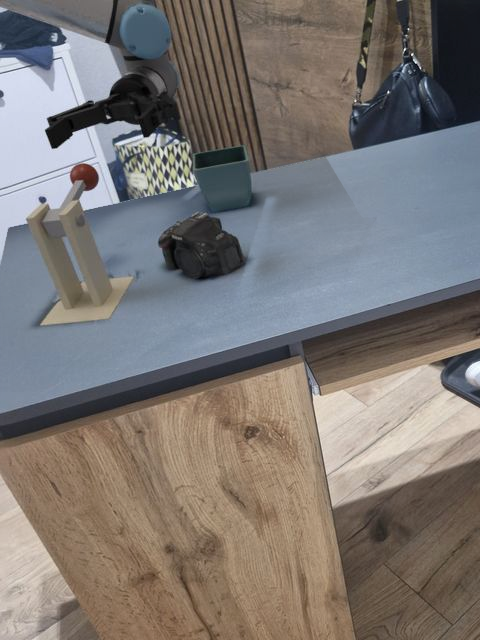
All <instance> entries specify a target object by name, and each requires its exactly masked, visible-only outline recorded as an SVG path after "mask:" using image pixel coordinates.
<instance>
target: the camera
mask: <svg viewBox="0 0 480 640" xmlns="http://www.w3.org/2000/svg"><path fill="white" fill-rule="evenodd" d="M157 245H158V248H160V249H161V251H162V257H163V259H164V262H165V265H166V267H167V269H168V270H171V271H174V270H177V269H180V270H181V271H182V273H183V274H184V275H186V276H187V277H189V278H190V279H191V278H192V279H195V280H199V279H201V278H210V277H213V276H224V275H229V274H231V273H233V272H234V271H236V270H238V269H239V268H241V267H243V266H244V265H245V264H246V263H245V257H244V254H243V251H242V248H241V244H240V241H239V238H238V237H237V236H235V235H233V234H232V233H229V232H228V231H226V230H224V229H223V224H222V222H221V218H219V217H215V216H211V215H209V214H208V213H207V212H205V213H201V211H197V212H195V213H193V214H192V215H191V216H189V217H188V218H186V219H183V220H178V221H176V223H175V224H173V225H171V226H169V227H168V228H167V229H165V230H163V233H161V235H160V236H159V238H158V241H157Z"/></svg>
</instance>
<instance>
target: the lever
mask: <svg viewBox="0 0 480 640" xmlns="http://www.w3.org/2000/svg"><path fill="white" fill-rule="evenodd" d="M69 179H70V182H71V184H72V186H71V188H70V189H69V191H68V192H67V195H66V196H65V198H64V200H63V202H62V203H61V205H60V206H59V208H50V210H49V211H48V213H47V215H46V216H45V218H44V220H43V221H42V223H43V225H44V227H45V228H46V230H47V232H48V234H49V236H50V238H58V237H62V238H67V236H66V233H65V231H64V228H63V226H62V223H61V221H60V218H59V216H58V215H59V214H60V213H61V212H62V211H63V210H64V209H65V208H66V207H67V205H68V204H69V203H70V202H71V201H75V200H80V199H81V197H82V195H83V193H84V192H89V191H90V192H91V191H93V190H94V189H95V188H96V187H97V186H98V184H99V181H100V176H99V173H98V170H97V169H96V168H95V167H94V166H92V165H91V164H89V163H86V162H85V163H84V162H82V163H81V162H80V163H77V164H75V165H74V166H73V167H72V168H71V170H70V172H69Z"/></svg>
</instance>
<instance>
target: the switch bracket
mask: <svg viewBox="0 0 480 640" xmlns="http://www.w3.org/2000/svg"><path fill="white" fill-rule="evenodd" d="M50 209H51V206H50V204H49V203H41V204H39V205H38V206H37V207H36V208H35V209H34V210H33V211H32V212H31V213H30V214H29V215H28V216H26V218H25V221H26V223H27V225H28V227H29V230H30V232H31V234H32V237H33V239H34V241H35V244H36V246H37V249H38V250H39V253H40V255H41V258H42V259H43V262H44V264H45V267H46V269H47V271H48V274H49V276H50V278H51V281H52V283H53V285H54V288H55V290H56V292H57V294H58V297H59V299H58V300H57V302H56V303H55V304H54V305H53V307H52V308H51V310H50V311H49V312H48V313H47V315H46V316H45V317H44V319H43V320H42V322H41V323H40V324H39V326H40V327H41V326H43V327H44V326H53V325H54V326H55V325H63V324H73V323H85V322H94V321H95V322H96V321H103V320H104V321H105V320H110V319H111V317H112V315H113V314H114V313H115V311H116V309H117V307H118V306H119V304H120V303H121V301H122V299H123V297H124V295H125V294H126V292H127V291H128V289H129V288H130V286H131V284H132V282H133V281H134V279H135V276H134V275H133V276H131V275H130V276H123V277H113V278H109V275H108V273H107V270H106V268H105V267H106V266H105V264H104V262H103V259H102V256H101V254H100V252H99V249H98V246H97V243H96V241H95V237H94V235H93V233H92V230H91V227H90V224H89V222H88V219H87V217H86V214H85V211H84V208H83V206H82V203H81V200H80V199H79V200H75V201H71V202H70V203H69V204H68V205H67V207H66V208H65V209H64V210H63V211H62V212H61V213H60V214H59V215H58V216H59V218H60V221H61V223H62V226H63V228H64V231H65V233H66V236H67V237H66V238H67V240H68V244H69V245H70V248H71V250H72V253H73V256H74V258H75V261H76V263H77V265H78V268H79V271H80V272H81V275H82V278H83V280H84V281H83V280H82V281H80V279H79V276H78V274H77V271H76V269H75V266H74V264H73V262H72V259H71V256H70V254H69V252H68V249H67V247H66V244H65V241H64V239H63V237H58V238H50V236H49V234H48V232H47V230H46V228H45V227H44V225H43V223H42V221H43V220H44V218H45V216H46V215H47V213H48V211H49V210H50Z"/></svg>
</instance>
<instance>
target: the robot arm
mask: <svg viewBox="0 0 480 640" xmlns="http://www.w3.org/2000/svg"><path fill="white" fill-rule="evenodd" d="M0 8H2V9H5V10H7V11H10V12H14V13H16V14H18V15H19V14H20V15H22V16H25V17H28V18H31V19H34V20H37V21H40V22H42V23H46V24H48V25H52V26H54V27H57V28H60V29H64V30H66V31H69V32H72V33H75V34H78V35H81V36H84V37H87V38H90V39H92V40H96V41H98V42H100V43H104V44H107V45H110V46H111V47H114V48H117V49H119V50H121V53H122V57H123V60H124V63H125V68H126V70H127V72H126V73H125V74H124V75H123V76H121V77H120V78H119V79H117V80H116V81H115V82H114V83H113V84H112V86H111V88H110V90H109V94H108V96H107V98H104V99H101V100H97V101H94V100H91V99H90V100H87V101H85V102H83V103H82V104H80V105H77V106H74V107H73V108H70V109H67V110H64V111H62V112H58V113H56V114H54V115H50V116H47V118H46V121H47V124H48V127H47V128H45V129H44V132H45V135H46V137H47V140H48V143H49V146H50V148H51V150H54V149H58V148H60V147H61V146H62V145H63V144H64V143H65V142H67V141H69V140H70V139H71V138H72V137H73V136H74V133H75V132H78V131H81V130H84V129H88V128H90V127H93V126H97V125H100V124H102V125H106V126H107V125H110V124H113V123H116V122H124V123H127V124H129V125H132V126H139V128H140V130H141V134H142V137H143V139H145V138H150V137H151V136H152V134H153V133H154V132H156V130H157V129H158V127H160V126H161V125H163V124H166V123H168V122H170V121H169V119H171V120H173V121H177V122H178V121H180V120H182V117H181V113H180V109H179V106H178V102H177V101H176V100H175V99H173V97H174V96H175V95H176V93H177V90H178V88H179V85H180V75H179V71H178V68H177V67H176V66H175V64H174V63H173V62H172V61H171V60H170V59H169V55H168V52H167V51H168V50H169V48H170V46H171V43H172V30H171V25H170V23H169V20H168V18H167V17H166V15H165V13H164V12H163V11H161V10H160V9H159V7H156V4H155V0H0ZM108 117H109V118H108Z"/></svg>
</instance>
